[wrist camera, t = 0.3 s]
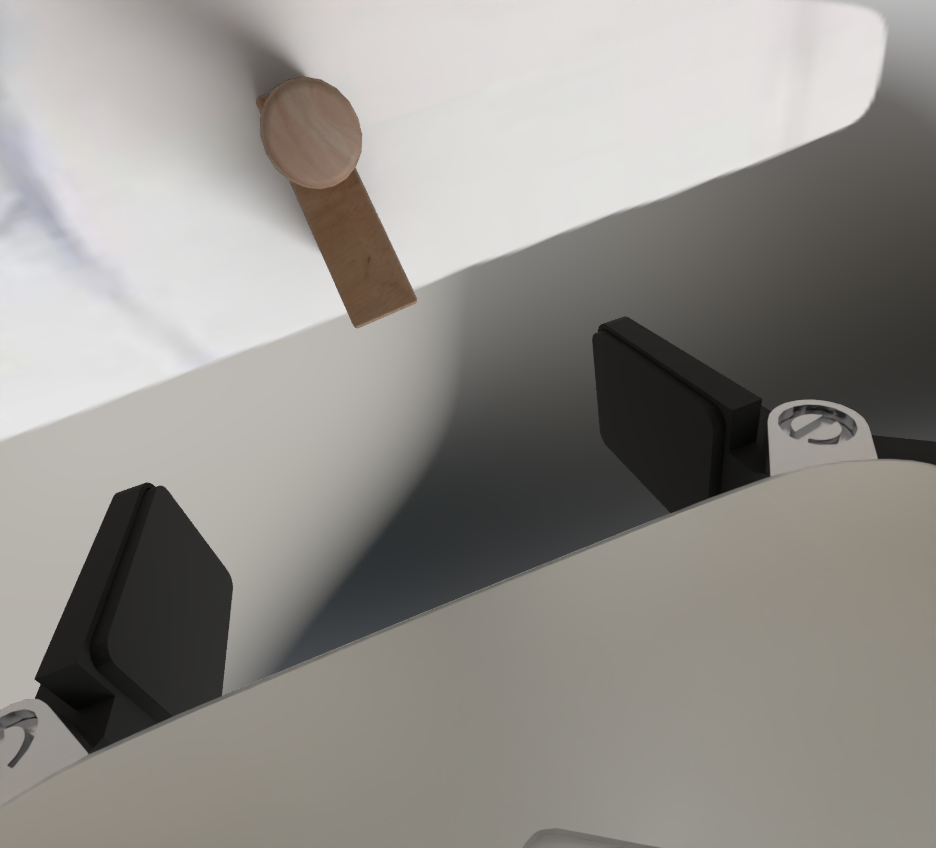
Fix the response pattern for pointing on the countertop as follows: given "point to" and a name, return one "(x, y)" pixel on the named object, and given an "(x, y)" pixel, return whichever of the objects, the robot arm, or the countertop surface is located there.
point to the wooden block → (334, 193)
